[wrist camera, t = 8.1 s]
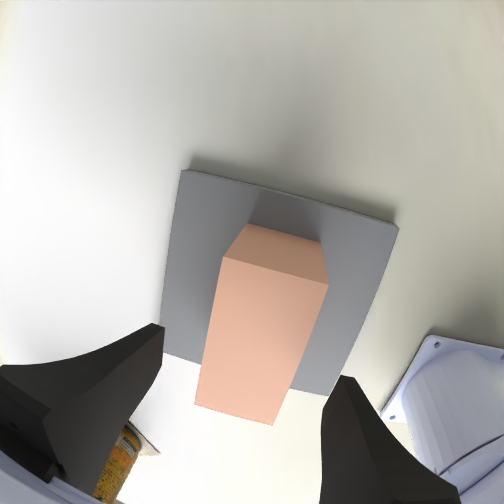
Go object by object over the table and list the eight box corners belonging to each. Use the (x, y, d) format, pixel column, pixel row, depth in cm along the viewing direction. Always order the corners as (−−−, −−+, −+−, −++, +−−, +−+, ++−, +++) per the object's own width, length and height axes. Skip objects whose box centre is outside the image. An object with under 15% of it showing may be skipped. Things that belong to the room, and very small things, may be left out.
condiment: (115, 454, 28) (71, 531, 17) (66, 401, 27) (6, 477, 15) (161, 453, 26) (118, 546, 15) (108, 394, 25) (40, 489, 13)
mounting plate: (394, 224, 17) (399, 228, 16) (327, 387, 21) (328, 396, 20) (187, 169, 18) (181, 170, 17) (162, 342, 21) (157, 350, 21)
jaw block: (320, 242, 17) (328, 284, 12) (280, 361, 19) (272, 425, 14) (247, 223, 17) (222, 256, 12) (219, 344, 20) (194, 404, 14)
